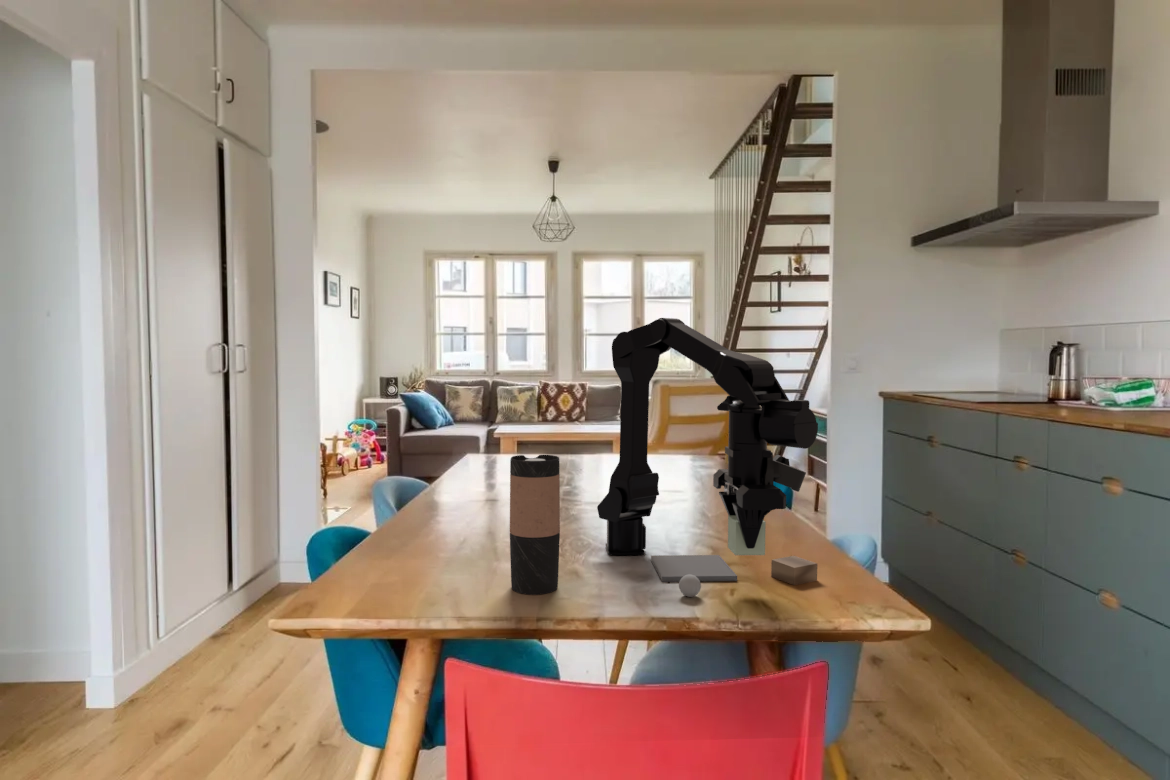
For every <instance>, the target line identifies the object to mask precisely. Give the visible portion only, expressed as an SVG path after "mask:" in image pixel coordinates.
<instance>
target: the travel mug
mask: <svg viewBox="0 0 1170 780" xmlns="http://www.w3.org/2000/svg"><path fill="white" fill-rule="evenodd" d="M509 466H510V467H509V468H510V473H509V474H510V475H509V476H510V477H509V480H510V482H509V551H510V553H509V554H510V559H509V560H510V582H511V589H512V591H514V592H516V593H518V594H521V595H535V596H536V595H537V596H538V595H545V594H549V593H552V592H555V591H556V590H557V589H558V585H559V565H560V542H561V540H560V539H561V538H560V536H561V533H560V532H561V525H560V524H561V512H560V510H561V509H560V503H561V502H560V501H561V497H560V496H561V495H560V491H561V490H560V487H561V485H560V481H561V480H560V475H561V474H560V472H561V471H560V456H557V455H553V454H538V456H537V457H526V456H525V455H523V454H519V455H518V454H517V455H513V456H511V457H510V465H509Z"/></svg>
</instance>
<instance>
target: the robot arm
mask: <svg viewBox="0 0 1170 780" xmlns="http://www.w3.org/2000/svg"><path fill="white" fill-rule="evenodd" d="M671 349H673V350H674V351H676V352H678V353H679V354H680V355H682V356H683V357H685V358H687V359H689V360H691V361H692V362H693V363H695V364H697V365H698V366H700V367H702V368H703V369H705V370H706V371H708V372H709V373H710V374H711V375H712V378H713V379H714V382H715V384H717V385H718V386H719V387H720V388H721V389H722V390H723V391H724V392H725V393H726V394H727V395H726V397H725V399H724V400H723V401H722V402H721V403H719V404H718V405H717V406H716V408H717V410H718V411H721V412H723V411H724V412H728V441H727V442H728V443H727V444H728V446H724V453H725V454H726V455H727V468H725V469H724V468H722V469H721V468H719V469H718V470H716V472H714V474H713V475H712V476H713V483H712V484H713V485H712V486H713V487H714V488H715V489H717V490H719V489H722V487H723V491H719V492H718V494H719V496H720V499H721V501H722V503H723V507H724V509H725V510H726V513H727V516H728V515H736V517H737V520H738V523H739V526H740V529H741V532H742V536H743V539H744V542H745V544H746V547H747V548H748V549H753V548H754V547H755V544H756V541H757V538H758V535H759V532H760V528H761V525H762V522H763V520H764V519H765V517H766V516H767V515H768V514H769V513H770V512H772V511H774V510H784V509H787V495H786V493H785V492H784V491H783V490H781V488H779V487H777V486H776V485H774V482H775V483H777V484H778V485H779V484H780V485H782V486H786V487H788V488H790V489H791V490H792V491H795V492H800V490H801V488H802V485H803V483H804V479H805V477H806V474H807V472H805V471H803V470H801V469H799V468H796V467H794V466H791V465H790V459H789V458H787V457H785V456H782V455H779V454H776V455H775V456H774V453H773V452H772V450H770V449H768V445H772V446H778V447H779V446H780V447H785V448H786V447H787V448H797V449H804V450H805V449H808V448H809V449H810V447H812V445H813V444H814V443H815V442H816V440H817V436H818V432H819V423H818V422H817V417H816V415H815V413H814V411H813V410H811V409H810V400H809V399H808V400H807V399H796V400H793V399H792V400H790V399H789V397H788V396H787V394H786V392H785V391H784V388H782V386H781V384H780V383H779V381H778V379H777V377H776V376H775V372H774V369H775V368H774V366H773V365H772V364H771V363H770V362H769V361H768V360H766V359H763V358H760V357H757V356H754V355H750V354H746V353H741V352H737V351H735V350H731V349H729V348H727V347H725V346H723V345H722V344H720V343H719V342H717V341H714V340H713V339H711V338H709V337H708V336H707V335H704V334H702V333H701V332H700V331H697V330H696V329H694V328H692V327H690V326H689V325H687V324H685V322H684V321H682V320H681V319H679V318H672V317H671V318H670V317H660V318H658V319H655V320H654V321H652V322H650V323H647V324H645V325H642V326H639V327H636V328H633V329H631V330H628V331H621V332H619V333H618V334H617V335H616V337H615V338H614V339H613V340H612V343H611V356H612V367H613V369H614V370H615V372H616V374H617V376H618V378H619V380H620V383H621V385H620V427H619V428H620V429H619V430H620V431H619V460H618V464H617V465H616V467H615V468H614V471H612V474H611V476H610V481H609V487H608V493H607V494H606V495H605V496H604V498H603V499H602V500H601V502H599V504H598V505H597V507H596V510H597V513H598V518H599V519H600V520H605V521H606V543H605V549H606V551H607V552H606V553H607V555H608V556H624V555H625V556H627V555H628V556H636V555H637V556H640V555H641V556H642V555H645V550H646V548H647V547H646V546H647V540H646V539H647V536H646V535H647V527H646V525H645V524H644V521H643V520H644V518H645V517H650V516H651V514H652V509H653V506H654V505H655V503H656V502H657V496H659V495H660V493H659V479H660V477H659V473H658V472H653V471H652V469H651V467H650V465H649V463H648V446H649V445H648V443H649V441H648V440H649V439H648V438H649V411H650V410H649V405H650V404H649V403H650V402H649V401H650V400H649V399H650V384H651V383H650V382H651V380H652V378H653V376H654V375H655V373H656V371H657V369H658V367H659V361H660V356H661V355H663V354H664V353H666V352H669V351H670V350H671ZM764 521H765V520H764Z"/></svg>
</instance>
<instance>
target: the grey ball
mask: <svg viewBox="0 0 1170 780" xmlns="http://www.w3.org/2000/svg"><path fill="white" fill-rule="evenodd" d="M701 588H702V584H701V581H699V579H698V578H697V577H696V576H694V575H685V576H683V577H682V578H681V580H680V581H678V589H679V591H680V592H681V594H682V595H683V596H685V597H688V598H692V597H696V596H697V595H698V594H699V593H700V592H701Z"/></svg>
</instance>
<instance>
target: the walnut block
mask: <svg viewBox="0 0 1170 780" xmlns="http://www.w3.org/2000/svg"><path fill="white" fill-rule="evenodd" d="M770 563H771V565H770V566H771V570H770V571H771V572H770V575H771V577H772V578H774V579H776V580H779V581H782V582H784V583H787V584H790V585H792V586H797V585H802V584H808V583H812V582H816V581H818V563H817V562H814V561H811V560H809V559H805V558H802V557H799V556H797V555H790V556H784V557H779V558H773V559H771V562H770Z"/></svg>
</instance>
